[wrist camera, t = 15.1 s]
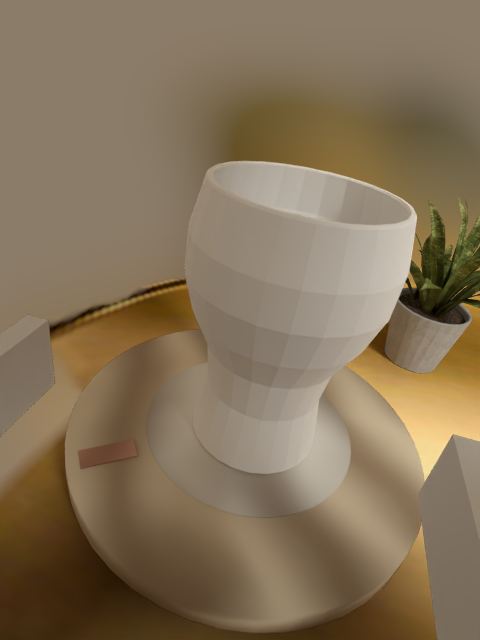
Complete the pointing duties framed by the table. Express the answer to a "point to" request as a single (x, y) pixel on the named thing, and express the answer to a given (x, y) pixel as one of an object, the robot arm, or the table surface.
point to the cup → (286, 299)
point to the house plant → (435, 299)
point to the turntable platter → (239, 497)
